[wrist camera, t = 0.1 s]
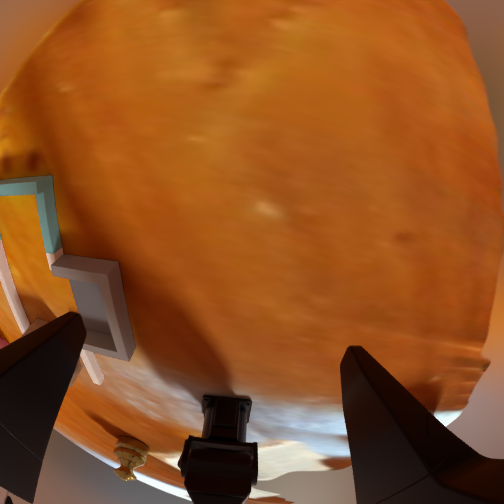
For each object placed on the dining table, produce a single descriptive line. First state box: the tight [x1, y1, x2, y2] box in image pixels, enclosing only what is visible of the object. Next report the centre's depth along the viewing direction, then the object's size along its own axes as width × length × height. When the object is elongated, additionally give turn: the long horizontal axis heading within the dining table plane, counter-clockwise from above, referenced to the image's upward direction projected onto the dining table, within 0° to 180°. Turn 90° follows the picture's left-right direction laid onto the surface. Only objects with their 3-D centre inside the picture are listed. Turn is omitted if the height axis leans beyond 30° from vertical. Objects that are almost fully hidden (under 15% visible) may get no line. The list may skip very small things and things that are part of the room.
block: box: [21, 318, 83, 387], centre depth 28 cm, size 8×6×4 cm
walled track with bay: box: [0, 175, 136, 385], centre depth 25 cm, size 29×21×2 cm
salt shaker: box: [113, 436, 149, 481], centre depth 39 cm, size 7×7×10 cm
